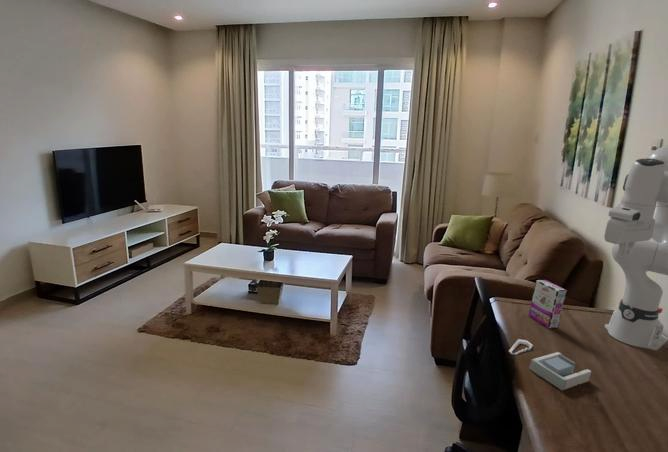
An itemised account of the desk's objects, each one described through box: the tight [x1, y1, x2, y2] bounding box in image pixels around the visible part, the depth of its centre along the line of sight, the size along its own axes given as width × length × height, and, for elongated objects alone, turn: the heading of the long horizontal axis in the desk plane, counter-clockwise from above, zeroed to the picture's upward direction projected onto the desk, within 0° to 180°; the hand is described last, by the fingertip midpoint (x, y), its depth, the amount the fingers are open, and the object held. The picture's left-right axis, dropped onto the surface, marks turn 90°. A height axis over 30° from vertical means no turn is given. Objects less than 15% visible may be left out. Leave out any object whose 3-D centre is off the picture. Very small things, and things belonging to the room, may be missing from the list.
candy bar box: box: [528, 279, 568, 329], centre depth 162 cm, size 11×5×16 cm, turn 17°
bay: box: [529, 351, 592, 391], centre depth 128 cm, size 13×11×4 cm
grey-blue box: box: [543, 353, 576, 377], centre depth 127 cm, size 8×5×6 cm, turn 116°
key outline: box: [508, 338, 534, 356], centre depth 142 cm, size 13×5×2 cm, turn 138°
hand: (623, 254), depth 127 cm, fingers closed
